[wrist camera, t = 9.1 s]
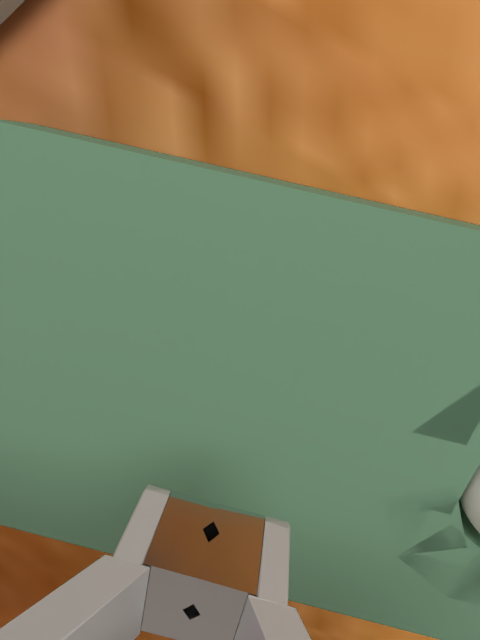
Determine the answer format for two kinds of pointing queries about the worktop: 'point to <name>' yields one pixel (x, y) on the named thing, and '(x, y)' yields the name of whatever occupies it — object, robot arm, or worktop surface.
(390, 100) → the worktop surface
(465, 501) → the ball
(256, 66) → the worktop surface
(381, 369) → the green
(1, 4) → the notebook
